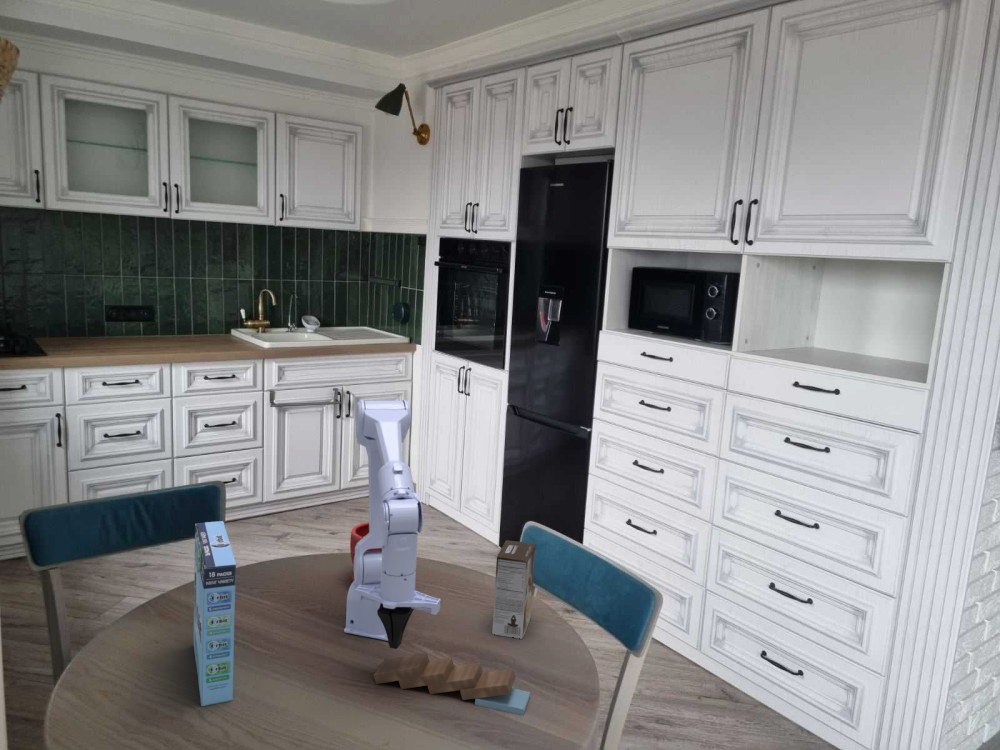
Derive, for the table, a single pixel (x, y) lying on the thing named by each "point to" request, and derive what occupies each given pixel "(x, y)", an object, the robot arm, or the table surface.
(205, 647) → the light blue carton box
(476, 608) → the table surface
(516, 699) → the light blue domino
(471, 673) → the walnut domino
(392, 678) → the walnut domino
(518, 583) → the coffee box
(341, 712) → the table surface
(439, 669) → the walnut domino
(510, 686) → the walnut domino
